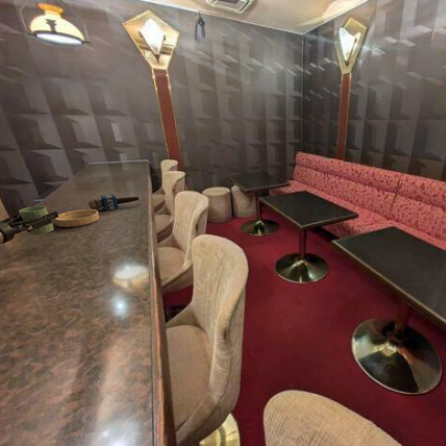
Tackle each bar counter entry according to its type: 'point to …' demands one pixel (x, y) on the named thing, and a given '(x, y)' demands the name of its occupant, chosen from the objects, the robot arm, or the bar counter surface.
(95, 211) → the bowl
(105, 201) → the microphone
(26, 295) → the bar counter surface
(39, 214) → the tumbler
